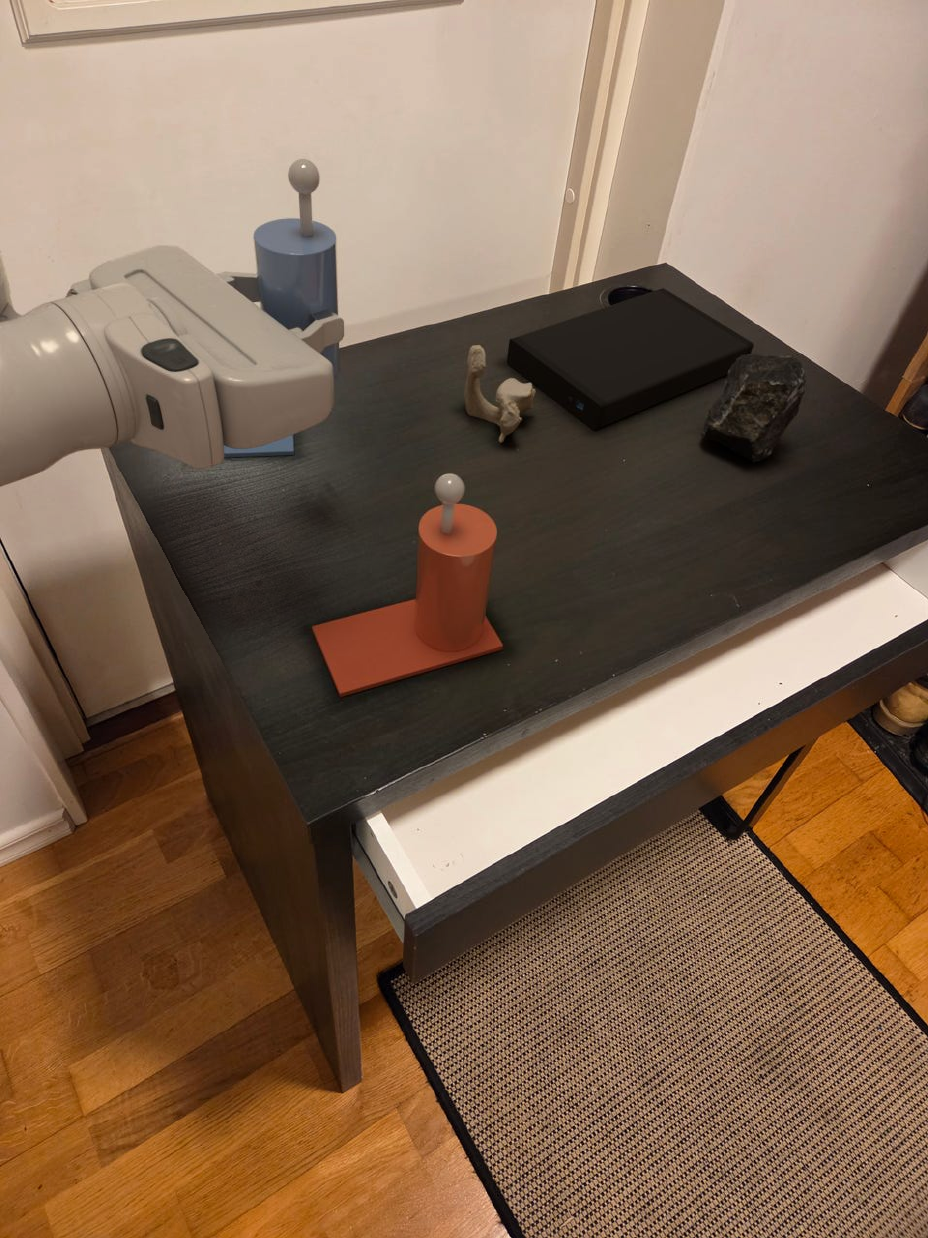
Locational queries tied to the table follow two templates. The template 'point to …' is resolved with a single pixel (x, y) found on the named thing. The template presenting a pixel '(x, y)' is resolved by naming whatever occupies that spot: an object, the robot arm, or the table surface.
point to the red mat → (386, 648)
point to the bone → (509, 396)
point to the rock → (756, 404)
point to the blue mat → (264, 449)
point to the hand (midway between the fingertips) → (310, 303)
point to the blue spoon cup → (298, 262)
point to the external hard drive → (626, 356)
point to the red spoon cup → (453, 569)
